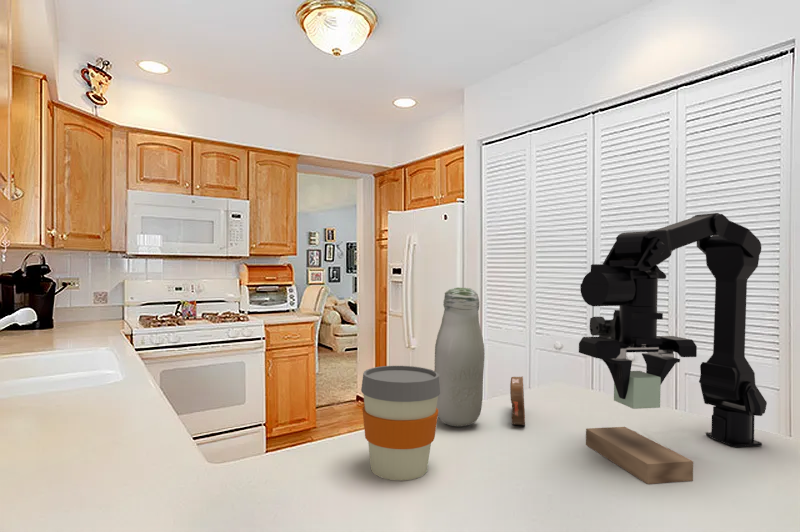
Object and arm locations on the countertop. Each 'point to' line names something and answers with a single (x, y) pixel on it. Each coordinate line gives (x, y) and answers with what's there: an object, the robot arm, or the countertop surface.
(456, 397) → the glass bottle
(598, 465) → the countertop surface
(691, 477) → the walnut base
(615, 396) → the sage block
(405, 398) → the reusable coffee cup
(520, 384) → the tin
